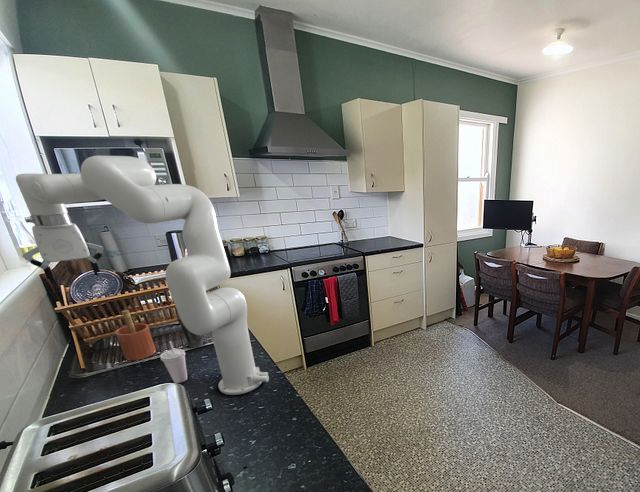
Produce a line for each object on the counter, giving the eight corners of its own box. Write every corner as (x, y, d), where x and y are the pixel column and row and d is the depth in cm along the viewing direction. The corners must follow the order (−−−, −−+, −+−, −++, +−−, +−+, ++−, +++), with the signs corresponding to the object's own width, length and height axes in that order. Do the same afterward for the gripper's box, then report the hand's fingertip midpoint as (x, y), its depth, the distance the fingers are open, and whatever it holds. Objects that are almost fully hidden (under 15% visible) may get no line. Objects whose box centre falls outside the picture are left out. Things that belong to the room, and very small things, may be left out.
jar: (162, 348, 128) (154, 323, 124) (144, 360, 120) (134, 335, 116) (137, 347, 128) (128, 323, 124) (117, 359, 120) (107, 334, 116)
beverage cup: (211, 343, 133) (198, 294, 124) (191, 351, 127) (176, 300, 119) (201, 338, 136) (188, 290, 128) (181, 345, 130) (166, 295, 122)
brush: (151, 348, 126) (138, 308, 119) (141, 355, 122) (126, 314, 115) (138, 348, 126) (123, 307, 119) (127, 355, 122) (111, 313, 115)
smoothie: (180, 386, 107) (168, 347, 101) (163, 383, 108) (150, 344, 103) (197, 375, 113) (186, 337, 107) (180, 372, 114) (168, 335, 108)
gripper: (6, 224, 91) (34, 286, 98) (94, 219, 102) (113, 275, 109) (8, 221, 96) (35, 280, 103) (91, 216, 107) (110, 269, 114)
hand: (75, 277), depth 106 cm, fingers open, 9 cm apart
